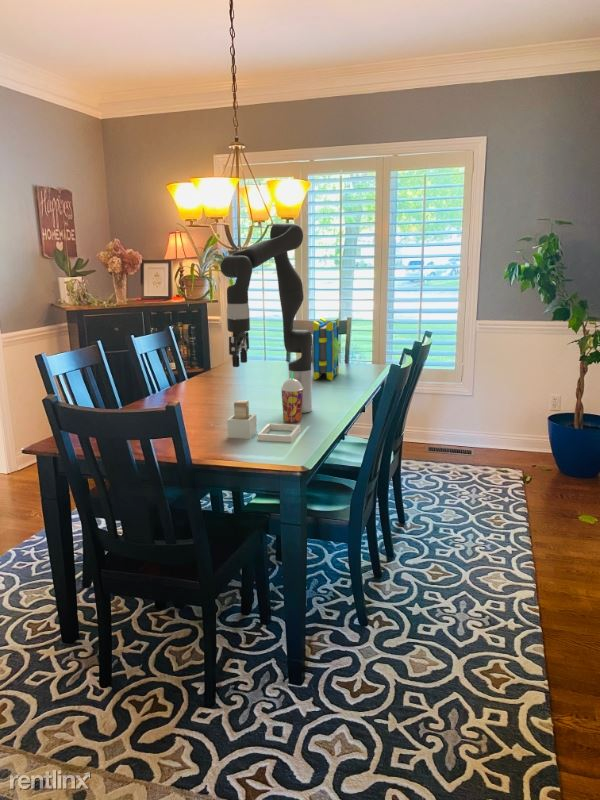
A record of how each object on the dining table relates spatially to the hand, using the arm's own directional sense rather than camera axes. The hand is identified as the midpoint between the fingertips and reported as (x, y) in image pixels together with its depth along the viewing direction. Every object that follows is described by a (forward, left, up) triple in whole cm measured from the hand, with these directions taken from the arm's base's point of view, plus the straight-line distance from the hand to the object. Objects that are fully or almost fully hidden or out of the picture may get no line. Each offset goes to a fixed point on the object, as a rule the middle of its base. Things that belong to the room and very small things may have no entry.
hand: (240, 364), depth 201 cm
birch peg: (0, 0, -25) cm, 25 cm away
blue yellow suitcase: (-111, +10, -26) cm, 115 cm away
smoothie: (-21, +13, -26) cm, 36 cm away
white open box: (0, 0, -26) cm, 26 cm away
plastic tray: (-2, +13, -26) cm, 29 cm away
